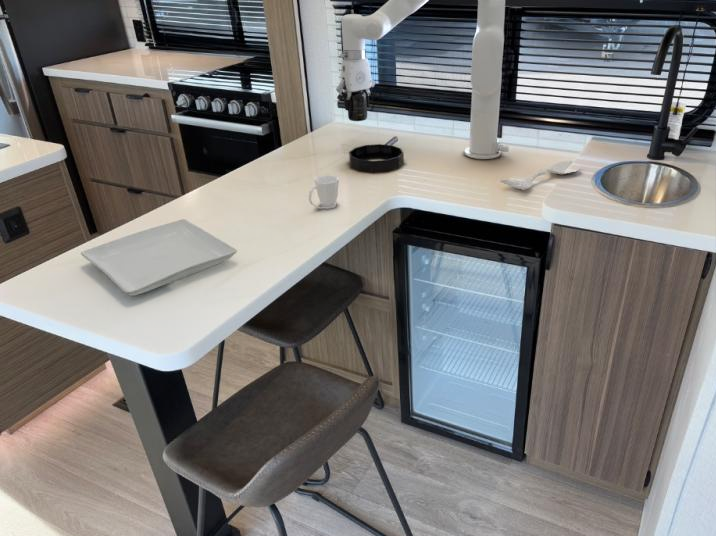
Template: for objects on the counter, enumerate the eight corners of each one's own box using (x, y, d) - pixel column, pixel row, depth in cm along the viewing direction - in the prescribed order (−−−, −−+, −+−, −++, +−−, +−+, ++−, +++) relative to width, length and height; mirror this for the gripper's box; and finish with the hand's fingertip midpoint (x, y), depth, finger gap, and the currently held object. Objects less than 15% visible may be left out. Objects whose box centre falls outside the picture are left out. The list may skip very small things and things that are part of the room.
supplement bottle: (346, 117, 216) (344, 82, 210) (364, 115, 218) (363, 81, 211) (350, 122, 210) (348, 86, 204) (369, 120, 212) (368, 85, 206)
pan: (418, 150, 218) (418, 138, 216) (391, 175, 196) (391, 162, 194) (373, 145, 223) (372, 134, 221) (341, 169, 201) (340, 157, 199)
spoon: (498, 189, 184) (499, 178, 182) (563, 165, 201) (564, 155, 199) (521, 197, 178) (522, 186, 176) (586, 172, 195) (587, 162, 193)
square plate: (82, 265, 146) (78, 250, 144) (187, 230, 162) (184, 216, 160) (130, 306, 129) (125, 290, 127) (241, 262, 145) (238, 248, 143)
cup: (345, 205, 175) (343, 179, 170) (318, 215, 169) (315, 188, 164) (330, 199, 179) (328, 173, 175) (303, 209, 173) (300, 182, 169)
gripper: (339, 59, 196) (343, 115, 205) (381, 53, 205) (383, 106, 214) (326, 56, 201) (330, 111, 210) (368, 50, 210) (370, 102, 219)
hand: (357, 108), depth 212 cm, fingers closed on supplement bottle, 6 cm apart
